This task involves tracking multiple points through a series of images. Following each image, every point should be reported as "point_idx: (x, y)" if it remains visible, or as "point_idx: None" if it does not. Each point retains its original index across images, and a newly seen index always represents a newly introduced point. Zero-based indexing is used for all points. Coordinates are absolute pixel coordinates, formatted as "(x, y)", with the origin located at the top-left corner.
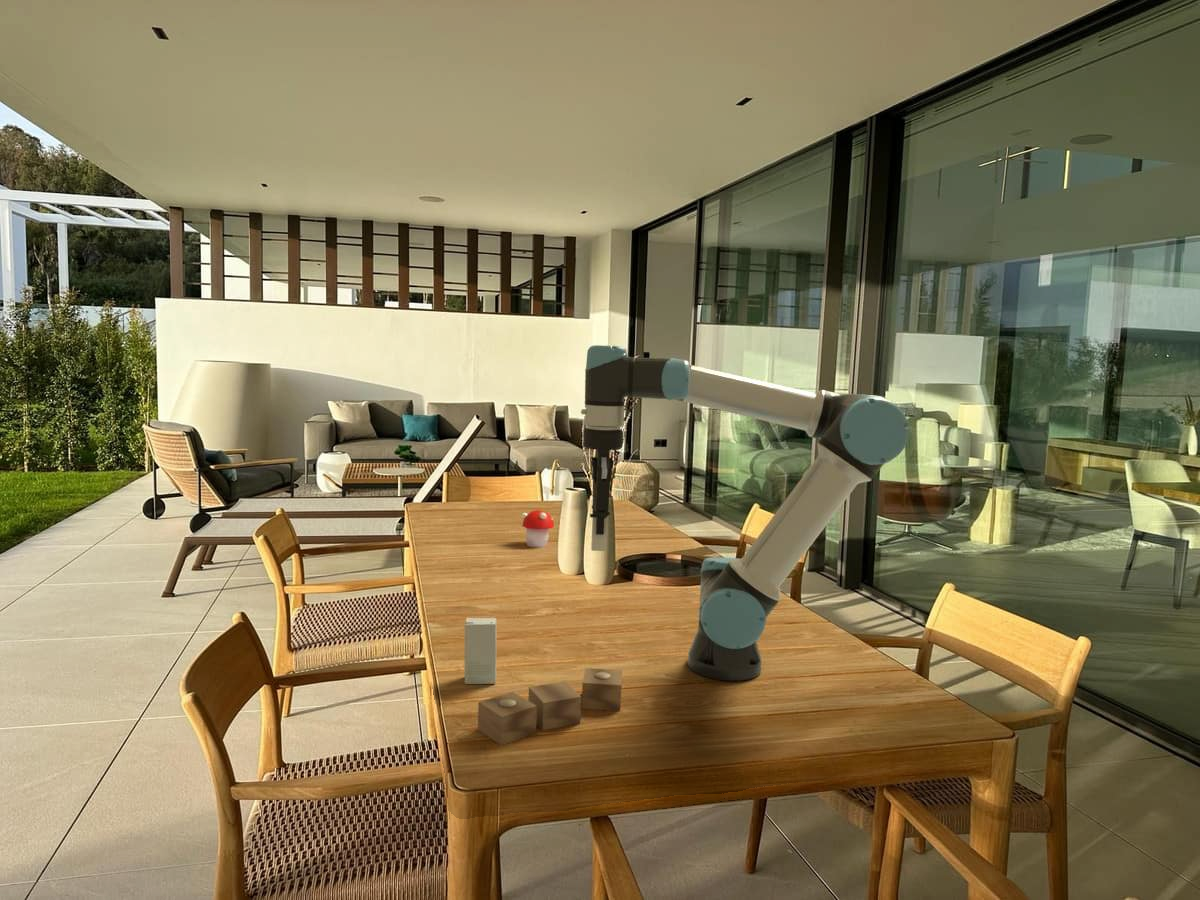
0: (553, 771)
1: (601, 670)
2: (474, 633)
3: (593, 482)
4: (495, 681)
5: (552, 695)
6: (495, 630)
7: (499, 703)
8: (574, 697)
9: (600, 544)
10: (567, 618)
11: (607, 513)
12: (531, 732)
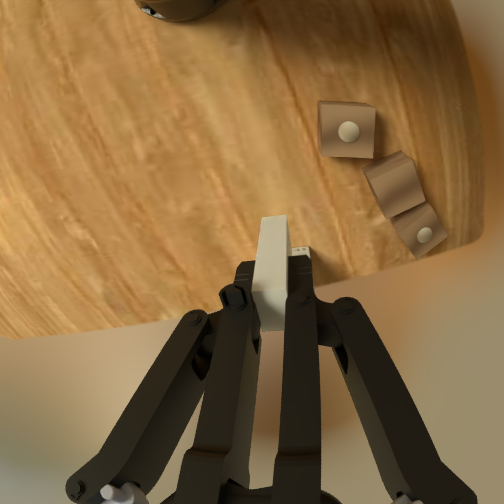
0: (478, 176)
1: (327, 133)
2: None
3: (178, 441)
4: (308, 247)
5: (409, 192)
6: (314, 289)
7: (425, 242)
8: (414, 167)
9: (288, 240)
10: (83, 203)
11: (361, 309)
12: None
